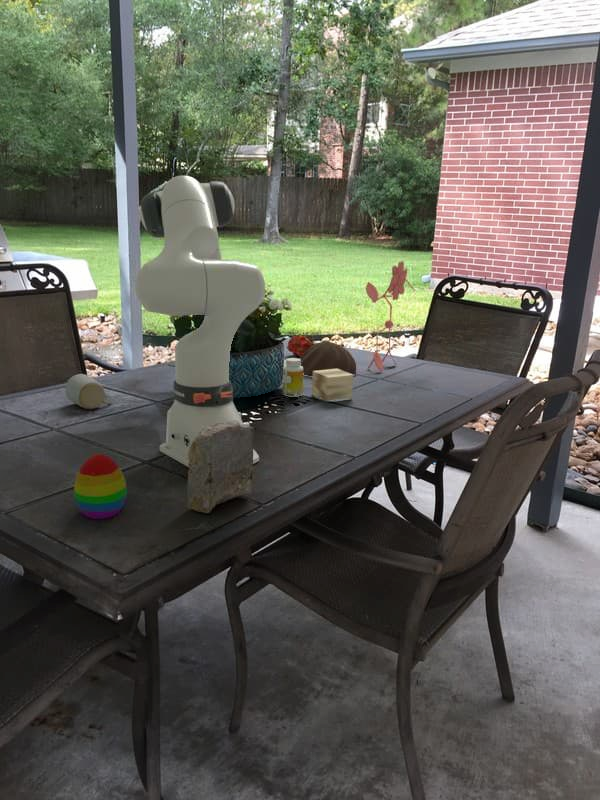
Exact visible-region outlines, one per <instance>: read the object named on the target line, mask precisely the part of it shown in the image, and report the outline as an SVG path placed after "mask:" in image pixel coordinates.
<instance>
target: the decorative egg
mask: <svg viewBox="0 0 600 800" xmlns="http://www.w3.org/2000/svg"><path fill="white" fill-rule="evenodd" d="M123 473H124V472H123V471H122V468H121V467H120V465H118V463H117V462H116V461H115V460H114V459H112V458H111V457H109V456H108V455H105V454H99V453H98V454H94V455H92V456H90V457H89V458H88V459H86V460H85V461H84V462H83V464H82V465H81V466H80V468H79V470H78V473H77V474H76V477H75V481H74V489H73V492H74V500H75V503H76V505H77V507H78V509H79V511H80V512H81V513H82V514H83V515H84V516H86V517H87V518H90V519H93V520H104V519H108V518H112V517H114V516H116V515H117V514H118V513H119V512H120V511H121V510H122V508H123V506H124V504H125V501H126V498H127V481H126V479H125V475H124V474H123Z"/></svg>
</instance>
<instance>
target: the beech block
mask: <svg viewBox="0 0 600 800" xmlns="http://www.w3.org/2000/svg"><path fill="white" fill-rule="evenodd" d="M311 378H312V379H311V380H312V381H311V382H312V383H311V385H312V386H311V395H312V394H313V395H315V396H317V397H319V398H322V399H324V400H327V401H329V400H335V399H343V398H352V399H353V392H354V391H353V389H354V377H353V374H350V373H348V372H345V371H342V370H340V369H328V370H318V371H313V377H311Z"/></svg>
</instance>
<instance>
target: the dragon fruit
mask: <svg viewBox="0 0 600 800" xmlns="http://www.w3.org/2000/svg"><path fill="white" fill-rule="evenodd" d="M314 344H316V343H314V340H313V339H312V338H309V337H307V335H305V334H302V335H300V334H296V335H293V336H292V337H291V338H290V339H289V340H288V342H287V346H286V349H287V351H289V353H290V352H291V353H292V354H293V356H294V357H293V358H296V357H300V356H301V355H302V354H303V353H304V352H305V351H306V350H308V349H309V348H310V347H311V346H312V345H314ZM296 355H297V356H296Z"/></svg>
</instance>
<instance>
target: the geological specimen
mask: <svg viewBox="0 0 600 800" xmlns="http://www.w3.org/2000/svg"><path fill="white" fill-rule="evenodd" d="M254 430H255V427H253V426H250V427H245V426H244V425H242V424H240V423H239V422H238V421H237V420H233V421H230V422H223V423H215V424H213V425H210V426H209V427H206V428H203V429H202V430H201V431H199V432H198V433H197V434H196V436H195V437H194V438H193V440H192V443H191V445H190V448H189V451H188V456H189V459H190V461H189V462H188V469H189V470H188V471H187V508H189V509H190V510H191V509H192V510H194V511H195V512H200V513H205V514H209V513H211V511H212V509H214V508H215V506H216V505H220V504H223V503H225V502H226V501H229V500H231V499H232V500H233V499H234V498H236V497H239V496H242V495H245V494H246V495H251V494H252V492H253V477H254V475H253V473H254V472H253V471H254V470H253V469H254V464H253V449H254Z"/></svg>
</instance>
